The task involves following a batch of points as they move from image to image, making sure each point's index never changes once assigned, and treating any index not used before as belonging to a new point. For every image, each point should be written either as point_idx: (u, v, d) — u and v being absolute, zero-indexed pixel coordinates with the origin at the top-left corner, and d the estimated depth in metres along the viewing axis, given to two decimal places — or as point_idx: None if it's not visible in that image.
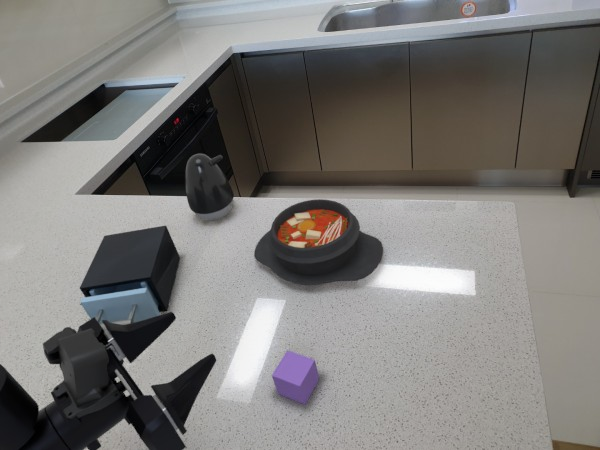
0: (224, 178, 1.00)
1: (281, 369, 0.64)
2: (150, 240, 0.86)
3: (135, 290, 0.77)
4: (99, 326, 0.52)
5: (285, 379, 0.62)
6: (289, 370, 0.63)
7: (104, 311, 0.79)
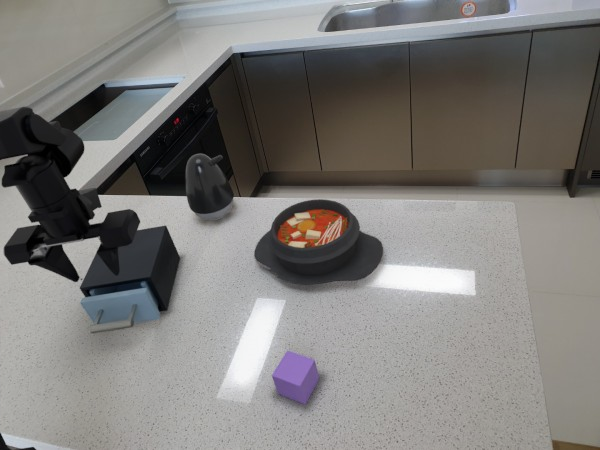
0: (224, 178, 1.00)
1: (281, 369, 0.64)
2: (150, 240, 0.86)
3: (135, 290, 0.77)
4: None
5: (285, 379, 0.62)
6: (289, 370, 0.63)
7: (104, 311, 0.79)
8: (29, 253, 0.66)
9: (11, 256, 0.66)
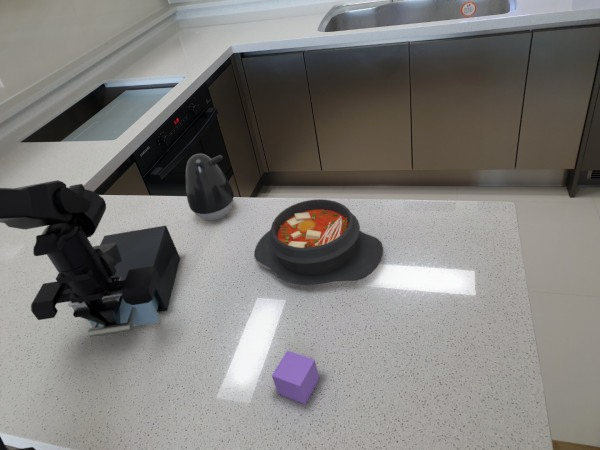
0: (224, 178, 1.00)
1: (281, 369, 0.64)
2: (150, 240, 0.86)
3: None
4: None
5: (285, 379, 0.62)
6: (289, 370, 0.63)
7: None
8: (55, 310, 0.70)
9: (38, 313, 0.70)
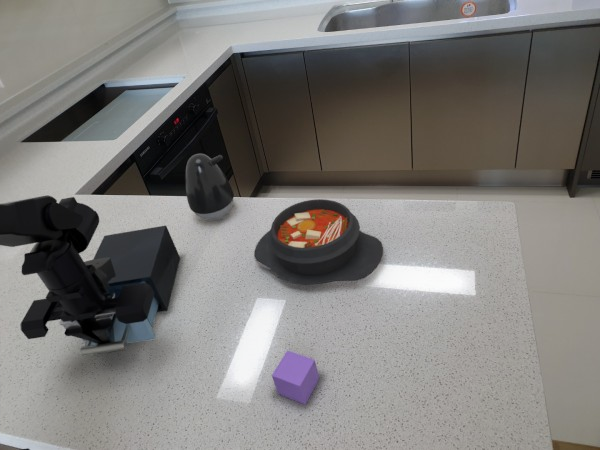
0: (224, 178, 1.00)
1: (281, 369, 0.64)
2: (150, 240, 0.86)
3: None
4: None
5: (285, 379, 0.62)
6: (289, 370, 0.63)
7: None
8: (46, 329, 0.67)
9: (28, 332, 0.67)
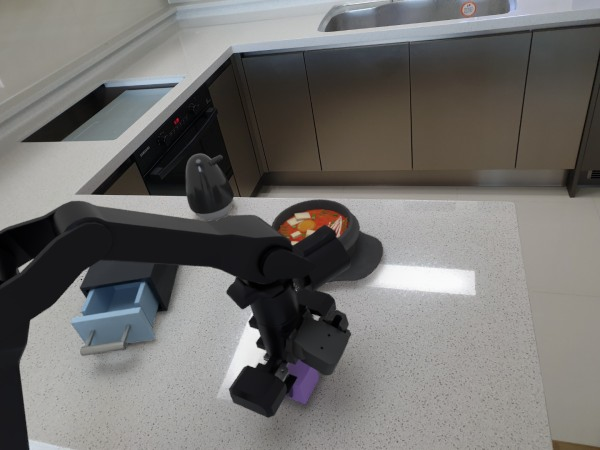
0: (224, 178, 1.00)
1: None
2: None
3: (128, 310, 0.74)
4: None
5: None
6: (289, 369, 0.63)
7: (96, 331, 0.75)
8: None
9: None
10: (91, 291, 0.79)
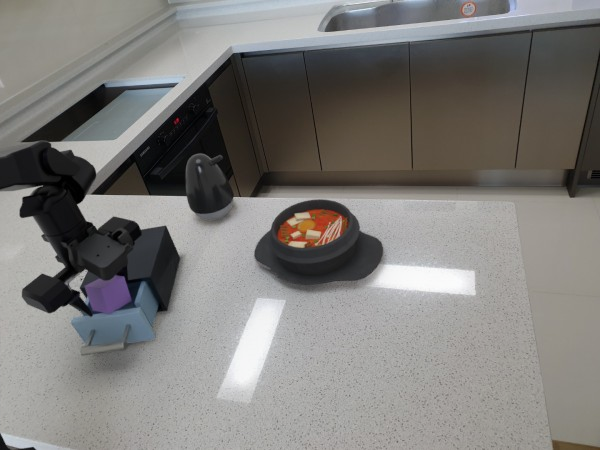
0: (224, 178, 1.00)
1: (94, 282, 0.75)
2: (150, 240, 0.86)
3: (128, 310, 0.74)
4: (133, 241, 0.74)
5: (93, 286, 0.73)
6: (100, 282, 0.75)
7: (96, 331, 0.75)
8: None
9: None
10: None
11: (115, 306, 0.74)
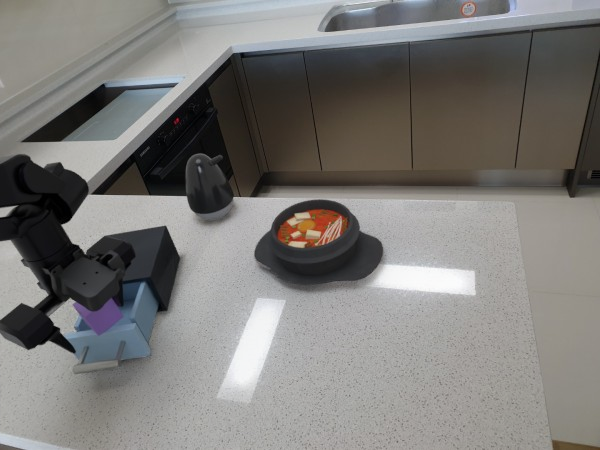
0: (224, 178, 1.00)
1: None
2: (150, 240, 0.86)
3: (123, 326, 0.71)
4: (125, 264, 0.66)
5: (79, 309, 0.69)
6: None
7: (90, 348, 0.72)
8: None
9: None
10: None
11: (105, 327, 0.70)
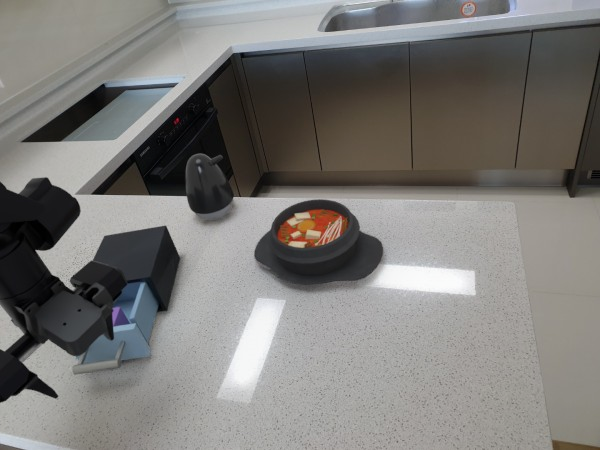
0: (224, 178, 1.00)
1: None
2: (150, 240, 0.86)
3: (123, 326, 0.71)
4: (115, 294, 0.57)
5: None
6: None
7: (89, 348, 0.72)
8: (72, 284, 0.59)
9: None
10: None
11: None
